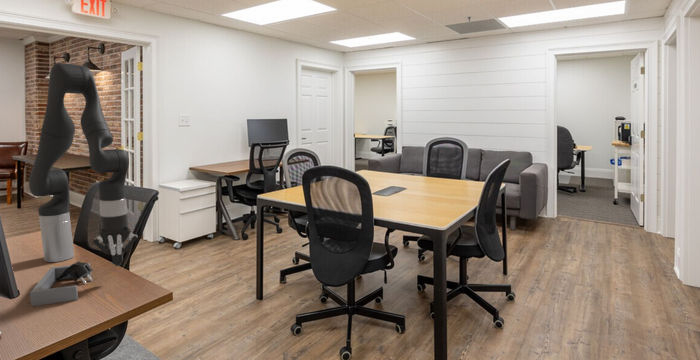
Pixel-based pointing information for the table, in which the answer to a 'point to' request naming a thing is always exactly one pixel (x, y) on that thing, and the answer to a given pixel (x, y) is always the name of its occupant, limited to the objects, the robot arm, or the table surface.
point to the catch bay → (53, 295)
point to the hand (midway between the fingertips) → (117, 264)
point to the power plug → (77, 272)
